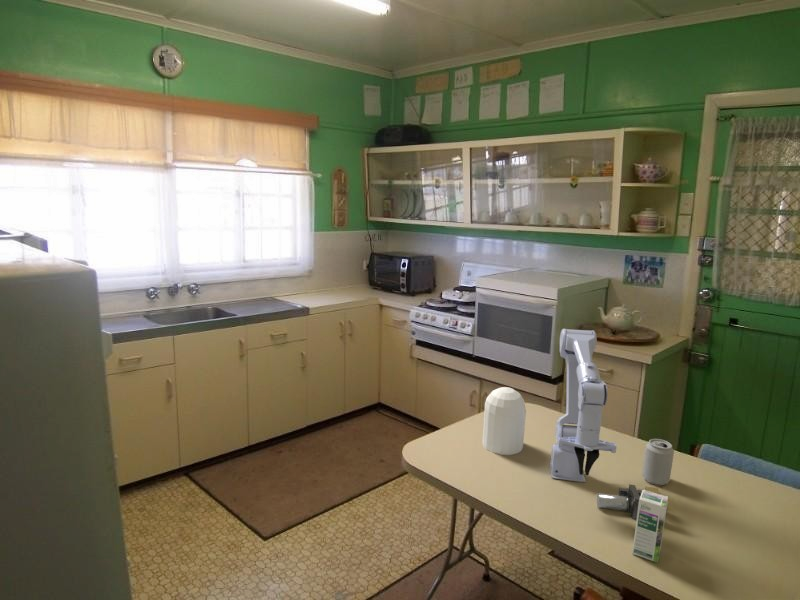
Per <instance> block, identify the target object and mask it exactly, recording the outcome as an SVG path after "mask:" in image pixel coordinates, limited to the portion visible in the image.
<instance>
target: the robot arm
mask: <svg viewBox="0 0 800 600" xmlns="http://www.w3.org/2000/svg"><path fill="white" fill-rule="evenodd" d="M597 343H598V342H597V333H596V332H595V330H592V329H591V330H586V329H585V330H584V329H568V328H562V329H561V331H560V334H559V353H560V354H559V356H560V357H561V358H563V359H565V365H566V394H565V395H566V398H565V399H566V401H565V402H566V405H565V406H566V409H565V414H563V415H562V416H560V417H559V418H557V421H556V427H555V443H556V444H552V447H551V455H550V456H551V457H550V461H549V462H550V463H549V468H550V474H551V478H552V479H558V480H564V481H572V482H573V481H574V482H581V483H585V482H586V477H585V476H589V474H590V471H591V469H592V468H593V466H594V463H595V462H596V461H597V460H598V459H599V457H600V451H603V452H604V451H605V452H611V453H613V454H616V453H617V444H616V442H610V441H605V440H602V439H600V436H601V435H600V434H601V424H602V417H603V408H604V407H603V406H606V404H607V401H608V387H607V383H606V382H605V381H604V380H602V379H601V375H600V371H599V370H600V369H599V368H598V365H597V364H596V363H594V362H593V354H594V351H595V350H596V347H597ZM585 457H586V461H585ZM584 474H585V475H584Z"/></svg>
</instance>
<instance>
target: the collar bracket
mask: <svg viewBox="0 0 800 600" xmlns="http://www.w3.org/2000/svg"><path fill="white" fill-rule="evenodd" d="M642 490H643V489H642ZM642 490H641V489H637V486H636V485H635V484H629V485H628V488H625V487H618V494H617V496H624V497H625V496H627V497H632V498H633V500H634V501H633V509H632V512H631V519H632V520H637V513H638V505H639V499H640V496H641V493H642ZM644 490H646V491H650V492H653V493H656V494H660V495H661V492H660V491H659V488H658V487H654V486H653V487H652V486H645V489H644Z"/></svg>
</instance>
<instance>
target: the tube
mask: <svg viewBox="0 0 800 600" xmlns="http://www.w3.org/2000/svg"><path fill="white" fill-rule="evenodd" d="M633 501H634V500H633V498H632V497H627V496H625V497H624V496H618V495H615V494H607V493H601V492H598V493H597V494H596V505H597V508H601V509H609V510H615V511H624V512H627V513H629V512H631V513H632V509H633Z"/></svg>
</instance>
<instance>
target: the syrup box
mask: <svg viewBox="0 0 800 600" xmlns="http://www.w3.org/2000/svg"><path fill="white" fill-rule="evenodd" d="M668 499H669V496H668V495H662V494H661V493H660V494H656V493H653V492H650V491H646V490H645V489H642V493H641V496H640V499H639V505H638V513H637V519H636V523H635V529H634V530H635V532H634V537H633V538H634V539H633V545H632V550H631V554H632V555H633V556H637V557H640V558H644V559H646V560H649V561H651V562H654V563H659V559H660V553H661V549H662V542H663V535H664V527H665V522H666V514H667V507H668V502H669V500H668Z"/></svg>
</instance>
